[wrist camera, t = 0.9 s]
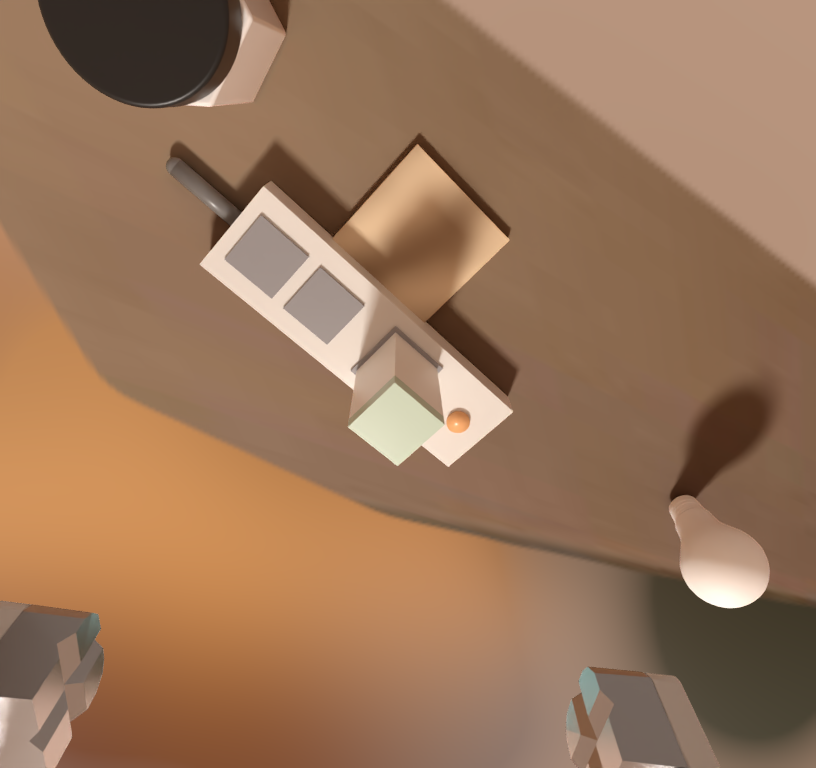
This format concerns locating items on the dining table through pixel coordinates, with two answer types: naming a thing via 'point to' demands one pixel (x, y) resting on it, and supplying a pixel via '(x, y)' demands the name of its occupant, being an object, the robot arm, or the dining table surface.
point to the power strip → (336, 305)
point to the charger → (396, 400)
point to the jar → (167, 48)
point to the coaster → (420, 235)
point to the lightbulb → (718, 557)
